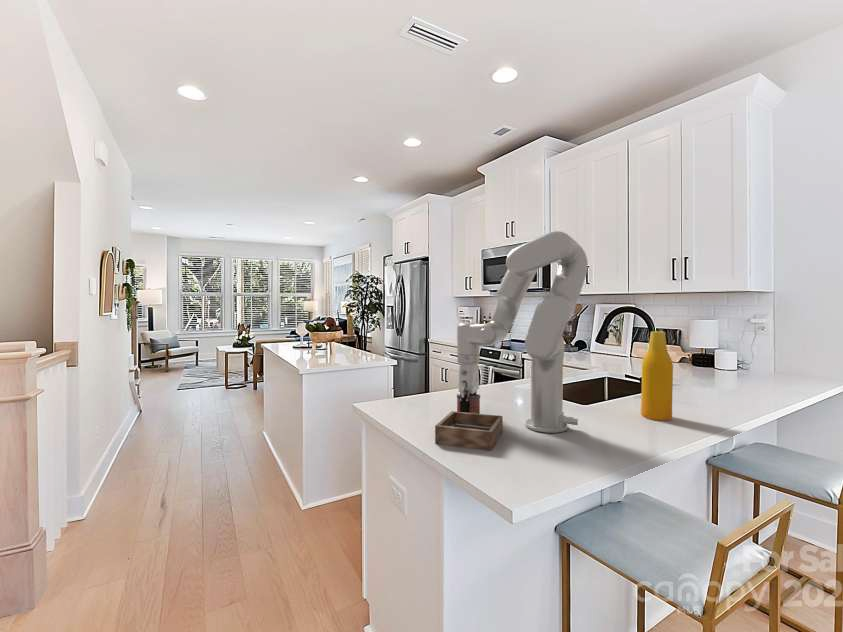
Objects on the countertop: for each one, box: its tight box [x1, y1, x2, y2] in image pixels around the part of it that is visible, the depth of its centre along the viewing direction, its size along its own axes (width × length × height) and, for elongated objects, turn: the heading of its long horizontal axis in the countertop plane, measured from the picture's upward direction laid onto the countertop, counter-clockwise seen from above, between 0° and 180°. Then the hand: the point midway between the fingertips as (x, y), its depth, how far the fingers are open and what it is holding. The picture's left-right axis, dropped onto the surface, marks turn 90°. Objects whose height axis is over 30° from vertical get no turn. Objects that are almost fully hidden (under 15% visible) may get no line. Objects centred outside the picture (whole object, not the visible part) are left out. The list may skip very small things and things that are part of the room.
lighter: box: [456, 390, 481, 414], centre depth 143 cm, size 8×3×10 cm, turn 84°
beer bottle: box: [640, 331, 674, 422], centre depth 140 cm, size 9×9×29 cm
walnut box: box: [434, 410, 504, 452], centre depth 121 cm, size 16×16×5 cm
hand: (468, 408), depth 143 cm, fingers open, 8 cm apart
